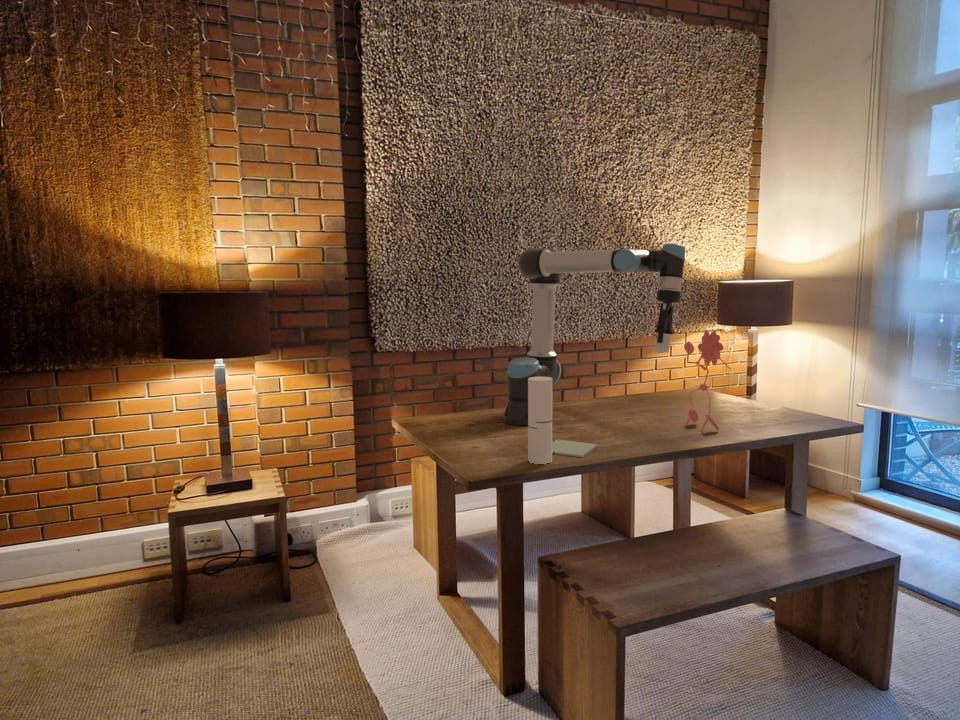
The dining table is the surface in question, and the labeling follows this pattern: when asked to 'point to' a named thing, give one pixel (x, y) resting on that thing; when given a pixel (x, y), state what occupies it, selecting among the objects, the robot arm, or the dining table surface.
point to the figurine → (709, 353)
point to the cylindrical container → (540, 420)
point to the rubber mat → (572, 448)
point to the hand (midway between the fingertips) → (661, 352)
